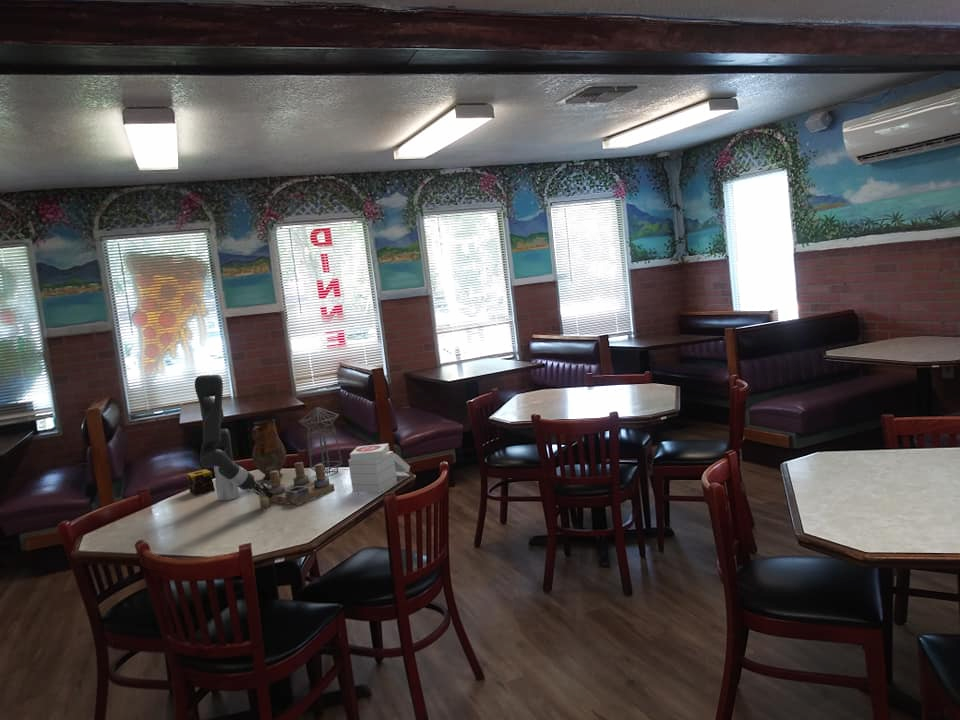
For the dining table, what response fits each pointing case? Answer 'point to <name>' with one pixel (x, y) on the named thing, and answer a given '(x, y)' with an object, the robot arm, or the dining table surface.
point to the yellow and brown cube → (200, 482)
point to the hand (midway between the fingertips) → (267, 495)
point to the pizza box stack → (374, 468)
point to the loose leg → (264, 500)
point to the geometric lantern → (322, 436)
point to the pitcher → (267, 448)
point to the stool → (300, 486)
